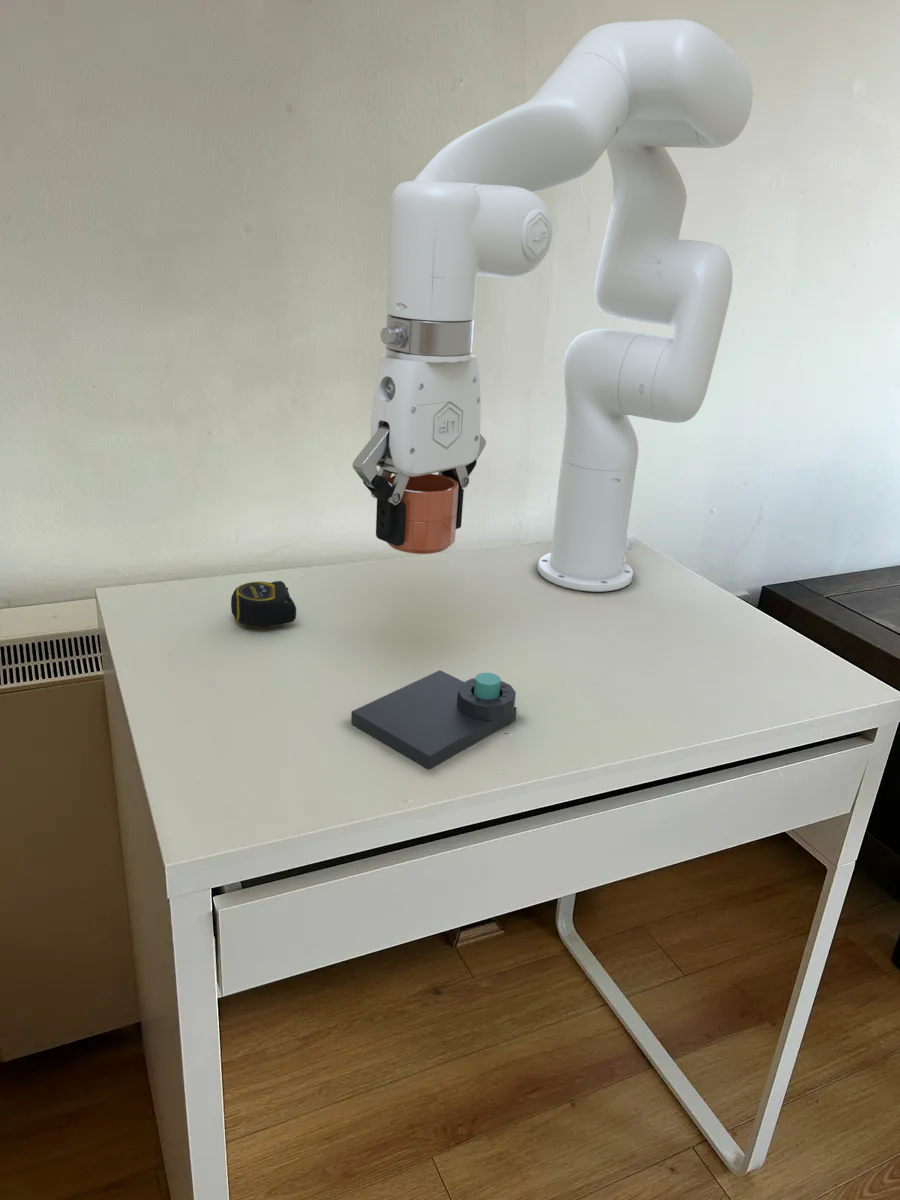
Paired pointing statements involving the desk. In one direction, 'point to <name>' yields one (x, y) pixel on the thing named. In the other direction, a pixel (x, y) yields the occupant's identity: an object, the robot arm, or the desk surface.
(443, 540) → the terracotta cylindrical cup
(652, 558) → the desk surface
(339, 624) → the desk surface
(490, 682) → the button
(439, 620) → the desk surface
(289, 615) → the tape measure
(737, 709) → the desk surface
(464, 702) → the scale
